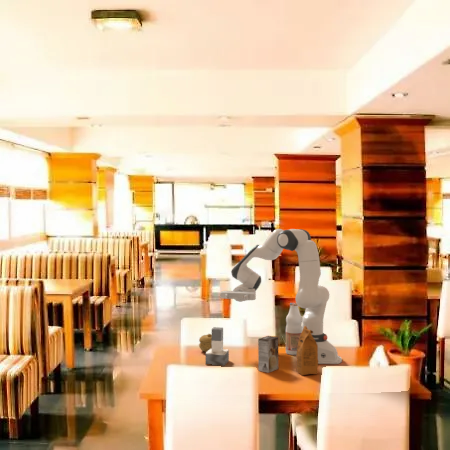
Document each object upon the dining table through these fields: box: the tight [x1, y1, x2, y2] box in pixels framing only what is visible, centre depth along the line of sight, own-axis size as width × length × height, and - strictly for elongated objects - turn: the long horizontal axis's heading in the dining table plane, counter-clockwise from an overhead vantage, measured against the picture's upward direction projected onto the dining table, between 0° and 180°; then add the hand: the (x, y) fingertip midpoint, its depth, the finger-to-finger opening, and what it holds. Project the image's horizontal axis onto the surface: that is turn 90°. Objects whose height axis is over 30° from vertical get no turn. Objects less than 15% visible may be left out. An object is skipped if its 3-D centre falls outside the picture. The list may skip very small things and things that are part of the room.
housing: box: [211, 326, 224, 353], centre depth 292 cm, size 5×5×12 cm
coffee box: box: [257, 335, 279, 374], centre depth 279 cm, size 9×6×16 cm
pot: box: [198, 333, 212, 353], centre depth 316 cm, size 12×12×10 cm
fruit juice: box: [285, 302, 303, 356], centre depth 312 cm, size 9×9×28 cm
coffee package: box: [295, 326, 319, 376], centre depth 275 cm, size 10×12×22 cm
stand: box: [205, 348, 230, 367], centre depth 293 cm, size 10×10×6 cm
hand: (235, 297), depth 307 cm, fingers open, 8 cm apart
